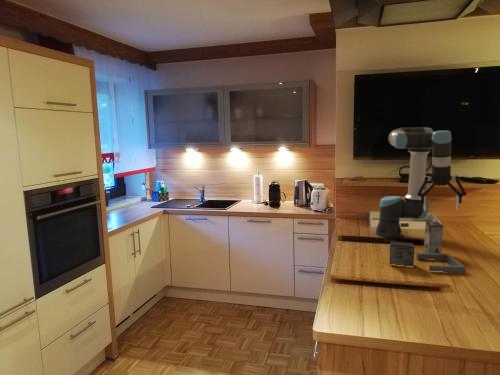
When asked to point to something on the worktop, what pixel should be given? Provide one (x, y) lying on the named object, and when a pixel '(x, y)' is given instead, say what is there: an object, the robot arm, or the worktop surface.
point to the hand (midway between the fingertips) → (440, 209)
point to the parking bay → (454, 268)
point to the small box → (402, 253)
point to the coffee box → (433, 237)
